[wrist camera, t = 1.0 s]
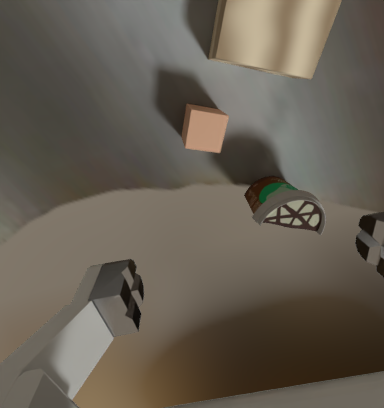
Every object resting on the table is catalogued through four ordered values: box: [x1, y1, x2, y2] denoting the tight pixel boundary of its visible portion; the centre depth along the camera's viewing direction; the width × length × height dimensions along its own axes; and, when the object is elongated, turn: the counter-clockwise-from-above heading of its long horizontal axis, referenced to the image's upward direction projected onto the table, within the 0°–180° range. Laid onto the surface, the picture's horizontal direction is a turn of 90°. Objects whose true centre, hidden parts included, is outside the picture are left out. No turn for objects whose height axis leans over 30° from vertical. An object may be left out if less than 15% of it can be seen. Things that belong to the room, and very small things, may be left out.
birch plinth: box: [208, 0, 342, 79], centre depth 27 cm, size 13×13×5 cm
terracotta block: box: [182, 104, 229, 153], centre depth 33 cm, size 5×5×6 cm
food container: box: [244, 176, 326, 235], centre depth 39 cm, size 12×6×10 cm, turn 75°
